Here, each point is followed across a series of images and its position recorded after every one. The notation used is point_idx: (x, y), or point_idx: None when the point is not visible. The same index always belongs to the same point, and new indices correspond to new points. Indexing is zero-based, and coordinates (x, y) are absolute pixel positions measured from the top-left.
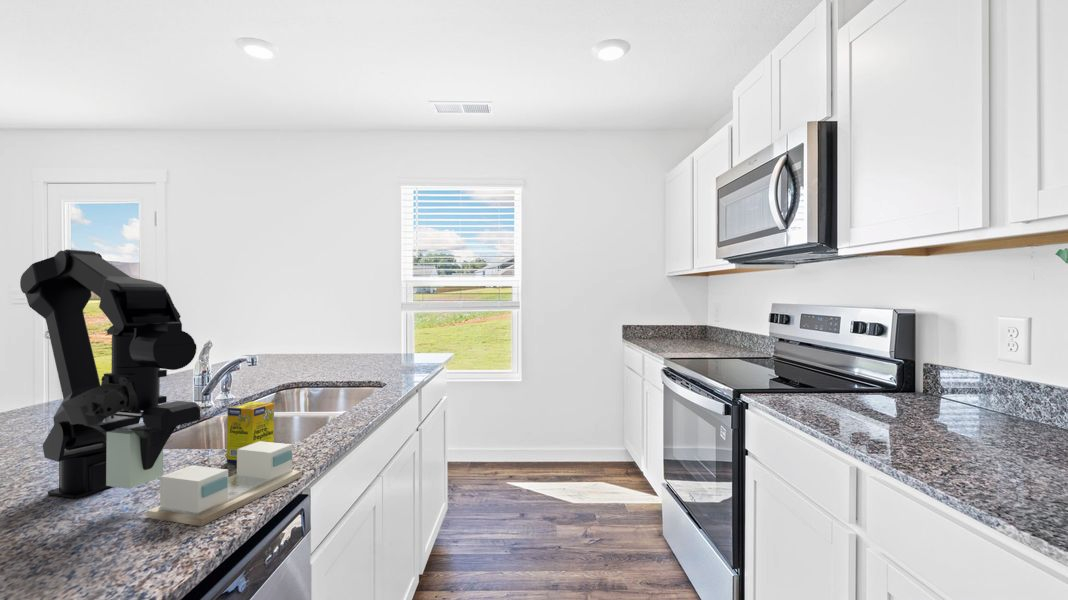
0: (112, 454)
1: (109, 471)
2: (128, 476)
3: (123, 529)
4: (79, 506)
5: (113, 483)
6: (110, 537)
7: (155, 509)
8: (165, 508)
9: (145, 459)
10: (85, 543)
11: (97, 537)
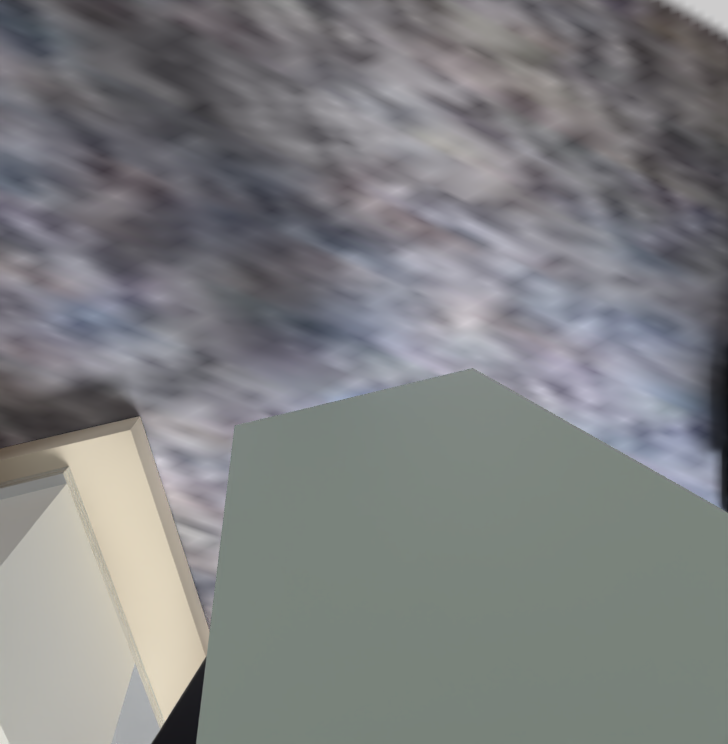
0: (553, 504)
1: (489, 410)
2: (239, 463)
3: (71, 275)
4: (628, 310)
5: (404, 391)
6: (2, 181)
7: (103, 463)
8: (7, 491)
9: (184, 695)
10: (36, 67)
11: (75, 146)
